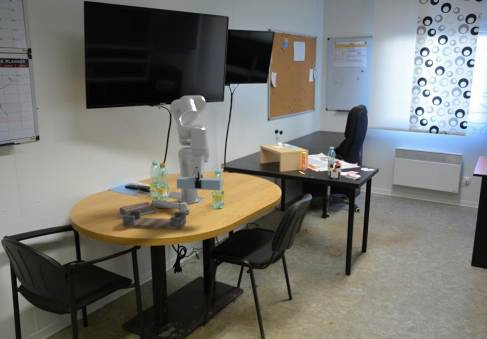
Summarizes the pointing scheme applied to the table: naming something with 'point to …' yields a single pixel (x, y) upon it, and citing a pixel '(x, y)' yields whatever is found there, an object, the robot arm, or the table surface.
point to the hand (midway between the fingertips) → (199, 186)
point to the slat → (205, 183)
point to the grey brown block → (144, 208)
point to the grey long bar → (171, 205)
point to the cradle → (154, 221)
